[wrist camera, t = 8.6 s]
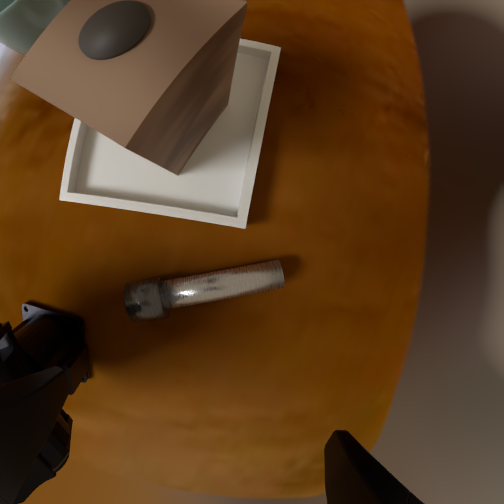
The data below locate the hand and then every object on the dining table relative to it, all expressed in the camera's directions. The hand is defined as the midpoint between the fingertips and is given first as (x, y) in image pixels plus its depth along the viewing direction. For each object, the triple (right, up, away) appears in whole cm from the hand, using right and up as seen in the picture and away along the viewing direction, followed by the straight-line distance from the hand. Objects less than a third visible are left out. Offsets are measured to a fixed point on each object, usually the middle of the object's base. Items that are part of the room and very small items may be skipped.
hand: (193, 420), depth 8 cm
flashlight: (-1, +3, +13) cm, 14 cm away
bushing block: (-4, +14, +10) cm, 18 cm away
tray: (-4, +14, +11) cm, 18 cm away
